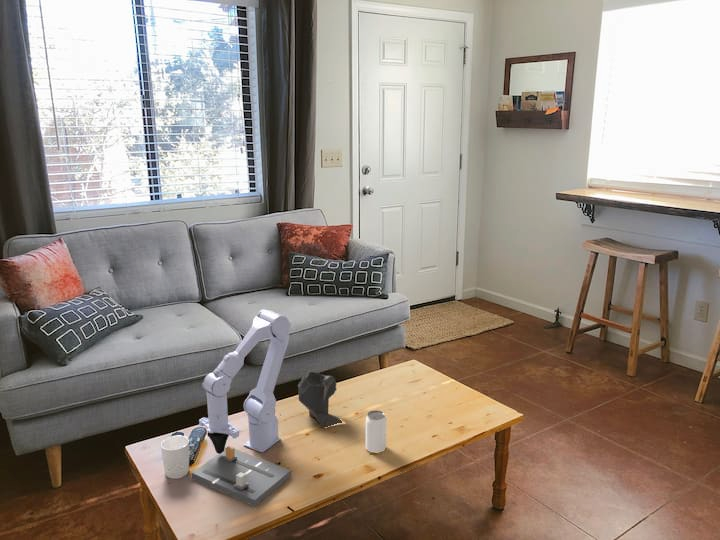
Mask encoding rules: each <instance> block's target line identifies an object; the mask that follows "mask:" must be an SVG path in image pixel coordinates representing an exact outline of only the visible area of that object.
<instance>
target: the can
mask: <svg viewBox="0 0 720 540" xmlns="http://www.w3.org/2000/svg"><path fill="white" fill-rule="evenodd" d="M386 445H387V417H386V414H385V412H383V411H381V410H370V411H368V413H367V416H366V418H365V449H367V450H368V451H370V452H381V451H383V452H385V450H386V449H385V448H386ZM367 450H366V451H367ZM368 451H367V452H368ZM370 452H369V453H370Z"/></svg>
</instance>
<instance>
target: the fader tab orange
mask: <svg viewBox="0 0 720 540" xmlns="http://www.w3.org/2000/svg"><path fill="white" fill-rule="evenodd" d="M234 449H235V447H234V446H232V445H228V446H227V447H225V449H224V450H225V453H226V456H225V457H223V459H225V460H227V461H230V462H232V461H233V460H234V459H236V458H237V456H236V455H235V450H234Z"/></svg>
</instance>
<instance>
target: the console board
mask: <svg viewBox="0 0 720 540" xmlns="http://www.w3.org/2000/svg"><path fill="white" fill-rule="evenodd" d="M234 450H235V455H236V456H237V458H236V459H234V460H233V461H232V462H230V461H227V460H225V459H223V457H225V456H226V453H225V449H224V452H222V453H221V454H218V453H217V454H216V455H215V456H214V457H212V458H210V459H209V460H208V461H206V462H205V463H204V464H202V465H200V466H199V467H197V468H196V469H194V470H193V471H192V472H190V474H191V479H192V480H193V481H196V482H198V483H201V484H204V485H206V486H208V487H210V488H212V489H213V490H217V491H219V492H221V493H224V494H227V495H228V496H230V497H233V498H235V499H238V500H240V501H241V502H244V503H246V504H249V505H250V506H253V507H256V506H257V505H259V504H260V503H261V502H262V501H263V500H264V499H266V498H267V497H268V496H269V495H270V494H272V493H273V492H274V491H275V490H277V489H278V488H279V487H280V486H281V485H283V484H284V483H285V482H286V481H287V480H288V479H290V478H291V476H292V473H291V470H290V469H288V468H285V467H284V466H281V465H277V464H275V463H272V462H270V461H268V460H264V459H262V458H259V457H256V456H254V455H252V454H250V453H248V452H247V453H246V452H244V451H241V450H239V449H236V448H234ZM240 472H241V473H244V474H246V482H247V483H249V485H248V486H247V487H245V488H244V489H243V490H241V489H238V488H236V487H234V485H235V484H236V475H237V474H238V473H240Z"/></svg>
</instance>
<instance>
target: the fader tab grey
mask: <svg viewBox="0 0 720 540" xmlns="http://www.w3.org/2000/svg"><path fill="white" fill-rule="evenodd" d="M248 485H249V483H247V482H246V474H244V473H241V472H240V473H238V474H237V475H236V484H235V485H234V487H236V488H238V489H241V490H243V489H244V488H245V487H247V486H248Z"/></svg>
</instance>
